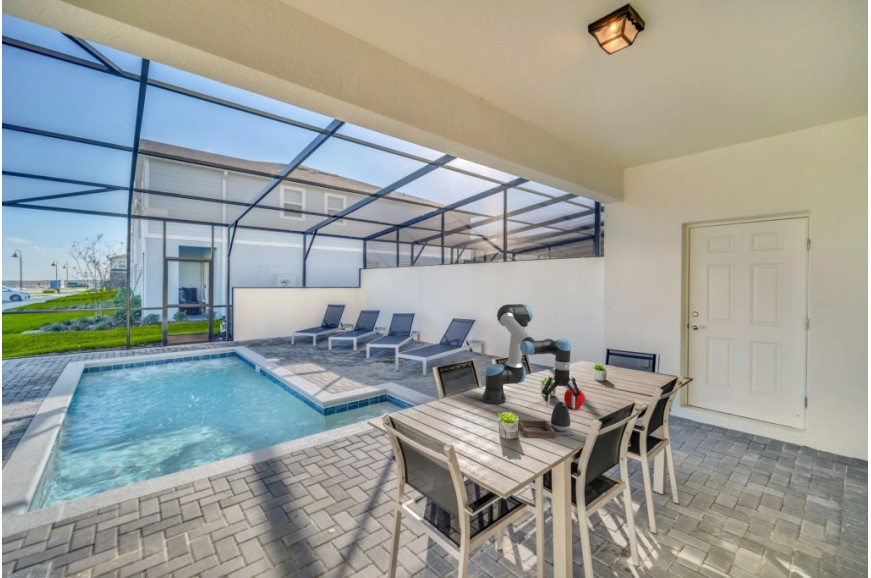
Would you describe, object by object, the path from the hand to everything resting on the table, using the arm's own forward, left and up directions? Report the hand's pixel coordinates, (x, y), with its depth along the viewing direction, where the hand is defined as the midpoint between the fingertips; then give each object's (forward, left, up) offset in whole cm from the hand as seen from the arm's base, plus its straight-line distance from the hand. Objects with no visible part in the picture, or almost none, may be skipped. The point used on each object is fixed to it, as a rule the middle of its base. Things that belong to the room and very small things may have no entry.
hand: (560, 407), depth 203 cm
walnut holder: (+2, -13, -13) cm, 18 cm away
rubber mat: (0, 0, -13) cm, 13 cm away
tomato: (-35, +21, -13) cm, 42 cm away
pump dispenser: (0, 0, -12) cm, 12 cm away
